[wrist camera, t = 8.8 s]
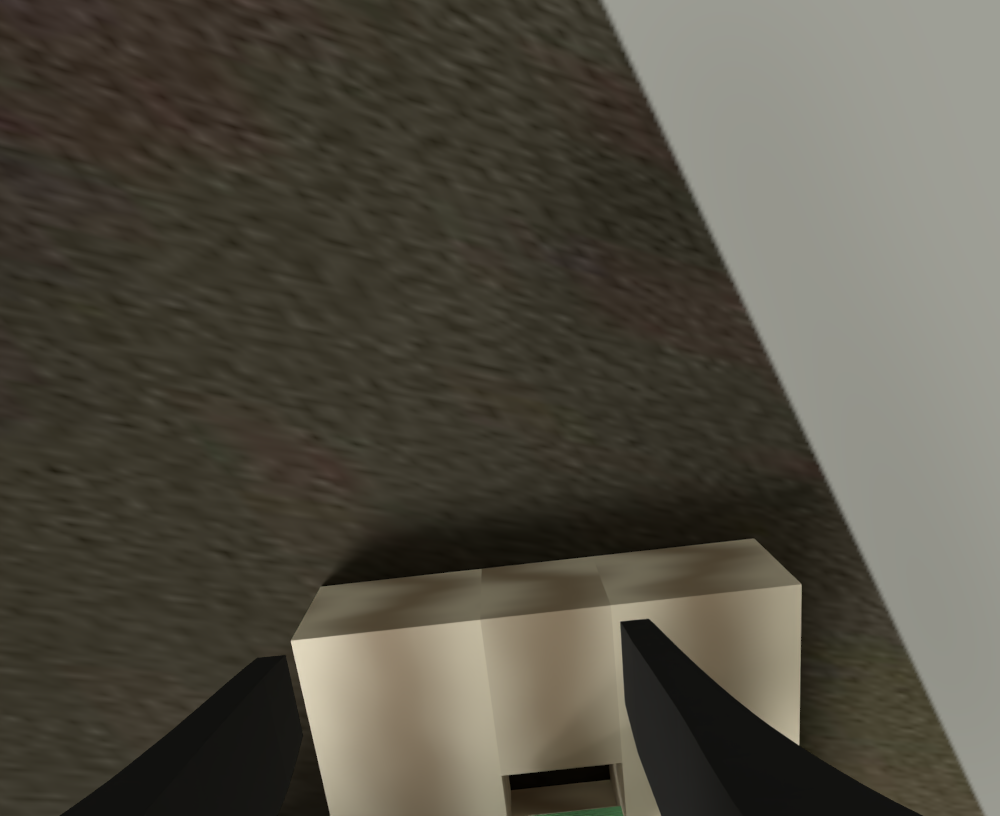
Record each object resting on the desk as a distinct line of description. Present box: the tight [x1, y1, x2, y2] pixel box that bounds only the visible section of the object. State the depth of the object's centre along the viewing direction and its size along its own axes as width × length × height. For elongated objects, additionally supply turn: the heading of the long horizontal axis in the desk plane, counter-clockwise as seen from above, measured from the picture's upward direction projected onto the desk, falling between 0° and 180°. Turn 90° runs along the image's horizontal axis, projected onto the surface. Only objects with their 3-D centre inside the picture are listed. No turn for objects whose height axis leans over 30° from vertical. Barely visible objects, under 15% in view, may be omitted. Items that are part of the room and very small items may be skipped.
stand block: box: [291, 538, 802, 816], centre depth 22 cm, size 18×18×4 cm
